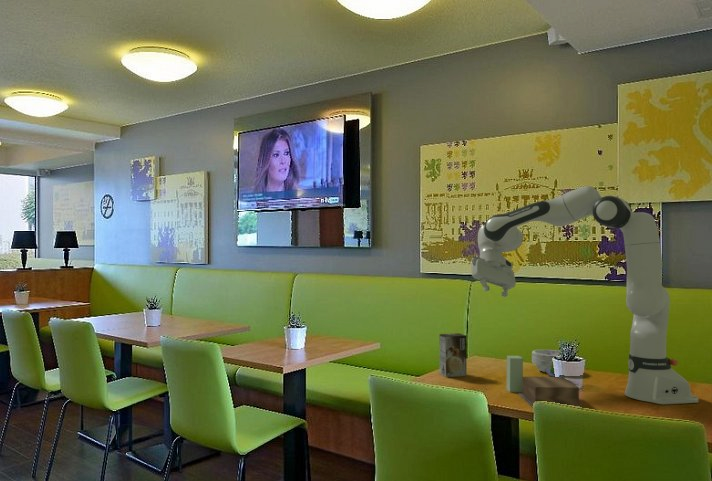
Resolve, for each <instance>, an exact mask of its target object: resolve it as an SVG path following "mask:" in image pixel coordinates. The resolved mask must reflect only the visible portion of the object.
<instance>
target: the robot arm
mask: <svg viewBox="0 0 712 481" xmlns="http://www.w3.org/2000/svg"><path fill="white" fill-rule="evenodd" d="M589 216H592V217H593V218H594V220H595V221H596V222H597V223H598V224H599V225H602V226H604V227H606V228H610V229H619V230H620V231H621V232H622V234H623V241H624V242H623V243H624V251H625V260H626V298H625V304H626V307H627V309H628V310H629V312H630V313H631V314H633V318H632V324H631V328H630V332H629V333H630V335H629V336H630V337H629V340H630V341H629V343H630V344H629V345H630V346H629V347H630V348H629V349H630V350H629V354H628V379H627V383H626V384H627V385H626V388H625V391H624V396H626V397H628V398H631V399H634V400H638V401H642V402H649V403H653V404H657V405H677V404H678V405H679V404H694V403H697V404H698V403H700V401H699V398H698V397H697V396H696V395H694V394H692V392H691V391H692V390H691V385H690V383H689V382H688V380H687V379H685V378H684V376H682V375H680V374H679V373H678V372H677V371H675V370H674V369H673V368H672V366H673V367H677V365H679V363H678V360H676V359H673V358H671V359H670V358H668V357H667V333H668V326H669V325H668V324H669V316H670V314H669V313H670V303H671V302H670V301H671V297H670V294H669V292H668V290H667V289H666V288H665V287H664V286H663V279H662V278H663V266H664V265H663V258H662V250H661V249H662V248H661V240H660V235H659V234H660V233H659V230H658V226H657V223H656V220H655V218H654V216H653V215H652V214H650V213H648V212H643V211H640V212H634V211H633V209H632V206H631V205H630V203H628V201H626V200H624V199H623V198H621V197H619V196H614V195H606V196H602V195H601V194H600V192H599V191H598V190H597V189H596V187H593V186H591V185H585V186H581V187H579V188H578V187H577V188H575V189H572V190H570V191H568V192H565V193H563V194H562V195H559V196H556V197H553V198H551V199H547V200H541V201H536V202H534V203H530V204H527V205H524V206H522V207H519V208H518V209H517V208H516V209H514V210H511V211H509V212H506V213H502V214H500V213H499V214H495V215H493V216H492V215H491V216H490V217H489V218H488V219H487V220H486V222H485V223H484V225H482V226H480V228H479V229H478V231H477V232H478V233H477V247H478V251H479V256H473V257H472V258H471V276H472V278H473V279H474V280H478V281H479V282H480V285H481V286H482V288H483V291H485V292H488V291H490V285H488V284H491V285H494V286H496V287H499V288H502V290H503V291H502V292H500V293H501V296H502V297H503V298H506V297H508V291H509V290H511V289H513V288H515V287H516V285H517V283H516V275H515V272H514V270H513V268H514V265H513V262H510V260H508V259H507V258H506V257H505V256H503V253H509V252H512V251H516V250H518V249H519V248H520V247H521V246H522V244H523V242H524V234H523V232H522V231H521V230H520V229H519V228H518V227H519V226H522V225H525V224H528V223H530V222H542V223H547V224H549V225H552V226H556V227H564V226H569V225H572V224H574V223H575V222H578V221H579V220H582V219H584V218H586V217H589Z"/></svg>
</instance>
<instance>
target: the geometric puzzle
mask: <svg viewBox="0 0 712 481" xmlns="http://www.w3.org/2000/svg"><path fill="white" fill-rule="evenodd" d="M549 366H550V365H549ZM546 369H547V368H546ZM545 372H547V373H546V374H547V375H548V377H555V374H554V368H553V363H552V365H551V369H547V370H545ZM545 372H544V373H545Z"/></svg>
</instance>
